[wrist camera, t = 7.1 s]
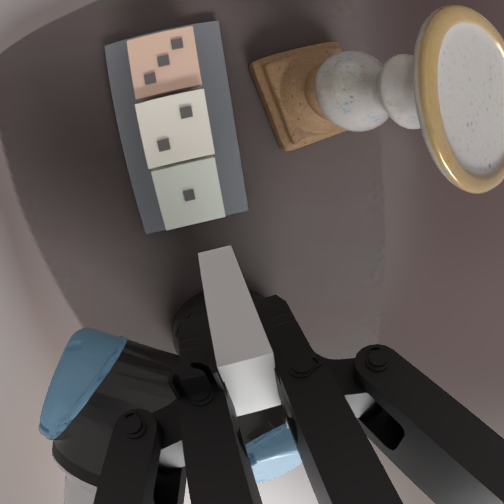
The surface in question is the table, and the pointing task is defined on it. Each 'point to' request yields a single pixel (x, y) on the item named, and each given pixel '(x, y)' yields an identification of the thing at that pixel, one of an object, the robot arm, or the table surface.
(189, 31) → the three pip key
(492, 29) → the candle holder
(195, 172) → the one pip key
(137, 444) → the robot arm
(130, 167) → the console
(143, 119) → the two pip key
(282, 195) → the table surface
